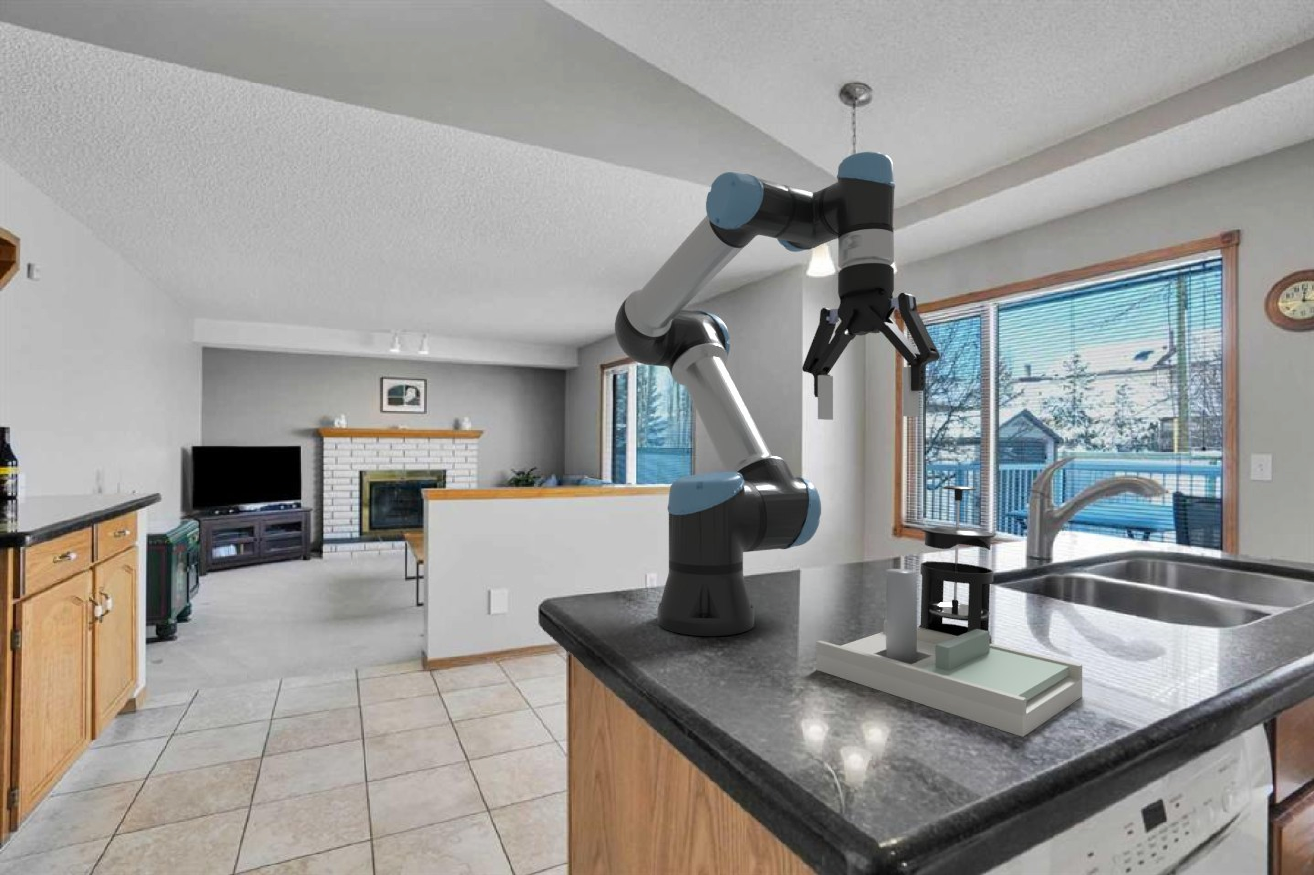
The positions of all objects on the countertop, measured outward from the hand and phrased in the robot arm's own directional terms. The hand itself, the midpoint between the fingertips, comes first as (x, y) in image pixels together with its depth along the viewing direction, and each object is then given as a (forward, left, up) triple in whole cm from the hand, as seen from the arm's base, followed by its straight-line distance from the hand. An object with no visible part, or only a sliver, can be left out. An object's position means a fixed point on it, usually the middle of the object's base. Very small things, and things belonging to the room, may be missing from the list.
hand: (865, 418), depth 92 cm
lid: (+20, -6, -29) cm, 36 cm away
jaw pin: (+9, -6, -31) cm, 33 cm away
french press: (+9, +6, -32) cm, 34 cm away
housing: (+14, -6, -32) cm, 35 cm away
